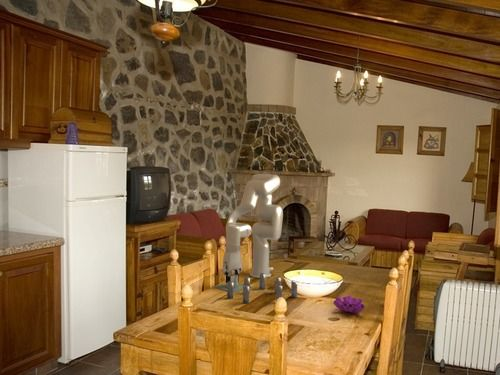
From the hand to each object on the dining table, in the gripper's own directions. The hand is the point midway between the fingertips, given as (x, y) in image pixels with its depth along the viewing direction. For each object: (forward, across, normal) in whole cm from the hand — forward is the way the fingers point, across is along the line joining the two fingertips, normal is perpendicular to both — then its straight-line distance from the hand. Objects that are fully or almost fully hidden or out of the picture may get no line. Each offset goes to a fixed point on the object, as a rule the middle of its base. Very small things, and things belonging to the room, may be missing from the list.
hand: (232, 281), depth 247 cm
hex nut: (+1, 0, 0) cm, 1 cm away
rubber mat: (+3, 0, 0) cm, 3 cm away
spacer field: (+3, +2, +23) cm, 23 cm away
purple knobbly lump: (+3, -11, +64) cm, 65 cm away
